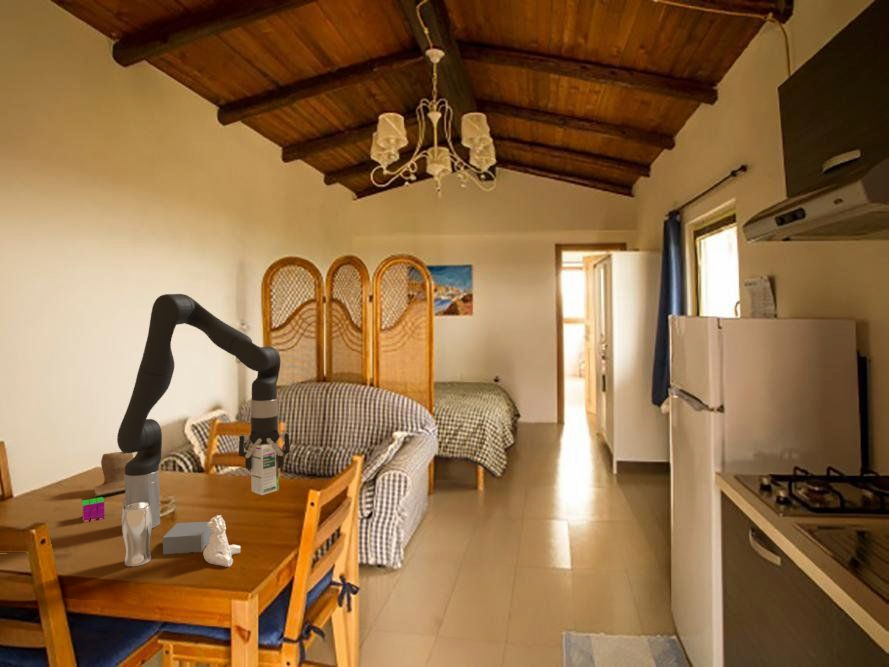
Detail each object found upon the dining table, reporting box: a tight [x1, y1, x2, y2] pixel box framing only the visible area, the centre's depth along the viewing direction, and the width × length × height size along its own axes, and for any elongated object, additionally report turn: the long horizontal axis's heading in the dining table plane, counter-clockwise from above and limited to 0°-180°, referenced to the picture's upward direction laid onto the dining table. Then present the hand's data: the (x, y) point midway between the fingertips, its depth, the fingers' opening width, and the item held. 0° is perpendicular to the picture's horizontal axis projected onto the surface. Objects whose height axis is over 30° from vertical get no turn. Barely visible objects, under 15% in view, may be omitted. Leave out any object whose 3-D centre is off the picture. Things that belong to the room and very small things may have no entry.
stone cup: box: [93, 451, 134, 498], centre depth 193 cm, size 15×12×15 cm
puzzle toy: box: [81, 496, 106, 522], centre depth 167 cm, size 6×6×6 cm
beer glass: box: [121, 502, 153, 567], centre depth 136 cm, size 7×7×15 cm
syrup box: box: [250, 441, 280, 496], centre depth 151 cm, size 6×6×14 cm
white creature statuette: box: [202, 514, 241, 568], centre depth 137 cm, size 10×9×12 cm
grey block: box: [162, 520, 212, 555], centre depth 146 cm, size 10×10×5 cm
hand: (264, 468), depth 151 cm, fingers closed on syrup box, 8 cm apart
